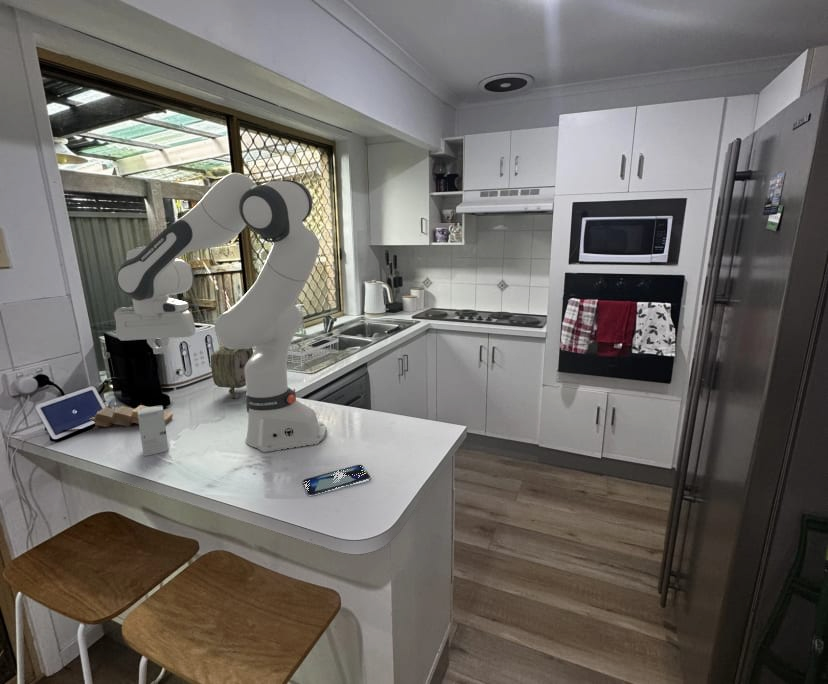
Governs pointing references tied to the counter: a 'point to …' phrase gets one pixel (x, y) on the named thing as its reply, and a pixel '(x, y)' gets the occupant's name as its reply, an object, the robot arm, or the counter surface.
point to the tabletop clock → (230, 367)
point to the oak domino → (135, 414)
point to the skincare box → (152, 430)
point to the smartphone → (326, 480)
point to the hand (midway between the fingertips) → (160, 353)
